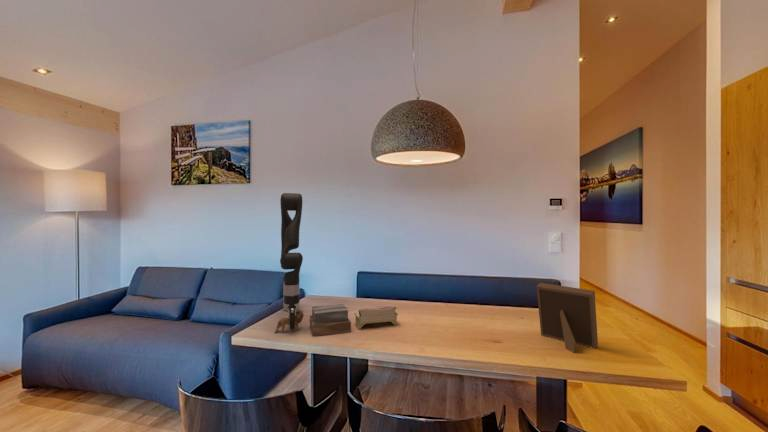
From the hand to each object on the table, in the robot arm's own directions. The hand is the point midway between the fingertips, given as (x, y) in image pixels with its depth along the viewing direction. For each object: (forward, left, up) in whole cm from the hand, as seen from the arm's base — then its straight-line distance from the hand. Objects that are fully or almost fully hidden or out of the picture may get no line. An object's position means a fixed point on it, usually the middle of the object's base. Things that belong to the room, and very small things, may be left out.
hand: (291, 326), depth 159 cm
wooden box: (+4, +18, -2) cm, 18 cm away
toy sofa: (+6, +41, -2) cm, 42 cm away
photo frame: (+55, +113, -2) cm, 126 cm away
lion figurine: (0, -1, -2) cm, 2 cm away
